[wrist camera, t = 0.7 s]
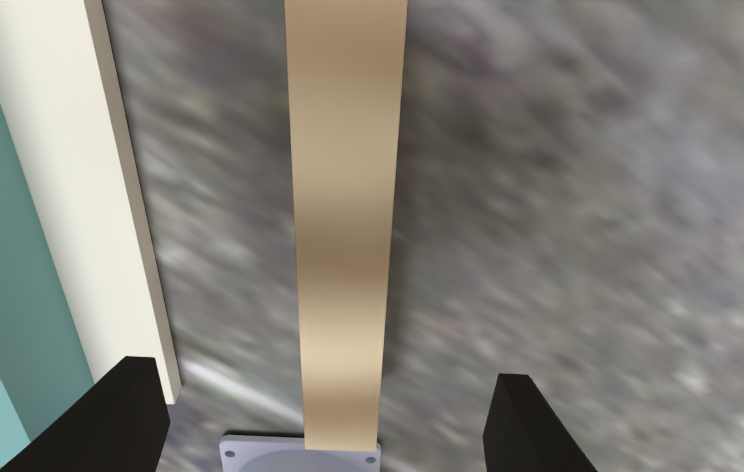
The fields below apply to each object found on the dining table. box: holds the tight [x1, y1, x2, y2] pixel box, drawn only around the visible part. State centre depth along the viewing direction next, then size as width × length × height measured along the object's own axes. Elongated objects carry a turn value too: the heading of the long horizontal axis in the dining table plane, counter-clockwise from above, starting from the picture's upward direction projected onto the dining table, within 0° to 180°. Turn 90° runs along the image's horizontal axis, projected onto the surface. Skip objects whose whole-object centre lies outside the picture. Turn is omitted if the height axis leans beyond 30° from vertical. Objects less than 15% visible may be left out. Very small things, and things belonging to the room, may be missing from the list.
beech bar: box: [284, 0, 408, 452], centre depth 17 cm, size 18×3×4 cm, turn 178°
